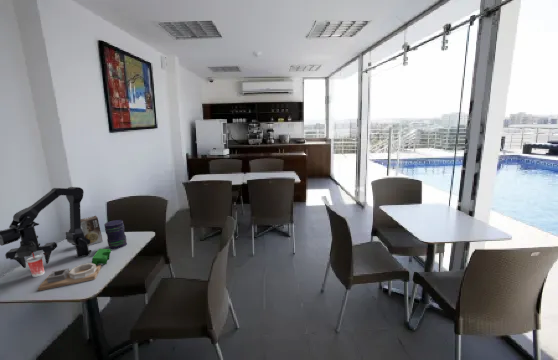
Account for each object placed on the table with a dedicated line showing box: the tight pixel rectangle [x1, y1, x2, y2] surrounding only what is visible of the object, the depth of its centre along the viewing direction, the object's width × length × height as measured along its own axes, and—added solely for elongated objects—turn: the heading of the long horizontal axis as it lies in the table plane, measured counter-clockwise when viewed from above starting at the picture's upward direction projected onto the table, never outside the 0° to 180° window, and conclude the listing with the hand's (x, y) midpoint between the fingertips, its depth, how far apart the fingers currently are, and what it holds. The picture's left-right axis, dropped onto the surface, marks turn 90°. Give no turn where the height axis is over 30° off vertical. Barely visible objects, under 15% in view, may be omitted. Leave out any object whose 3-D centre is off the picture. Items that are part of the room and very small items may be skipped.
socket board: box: [37, 262, 102, 291], centre depth 132 cm, size 12×22×4 cm, turn 110°
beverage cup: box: [25, 252, 45, 278], centre depth 136 cm, size 6×6×14 cm
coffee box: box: [81, 215, 104, 247], centre depth 172 cm, size 9×6×16 cm
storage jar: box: [104, 219, 128, 250], centre depth 165 cm, size 10×10×15 cm
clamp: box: [91, 248, 112, 265], centre depth 146 cm, size 12×6×9 cm, turn 12°
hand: (36, 265), depth 137 cm, fingers open, 9 cm apart
